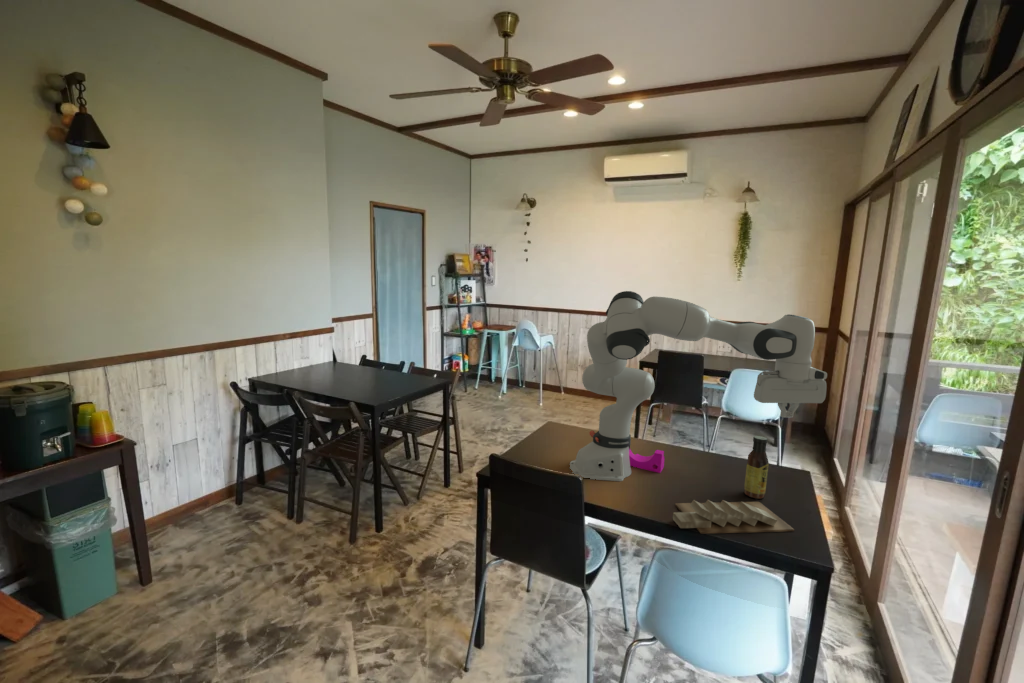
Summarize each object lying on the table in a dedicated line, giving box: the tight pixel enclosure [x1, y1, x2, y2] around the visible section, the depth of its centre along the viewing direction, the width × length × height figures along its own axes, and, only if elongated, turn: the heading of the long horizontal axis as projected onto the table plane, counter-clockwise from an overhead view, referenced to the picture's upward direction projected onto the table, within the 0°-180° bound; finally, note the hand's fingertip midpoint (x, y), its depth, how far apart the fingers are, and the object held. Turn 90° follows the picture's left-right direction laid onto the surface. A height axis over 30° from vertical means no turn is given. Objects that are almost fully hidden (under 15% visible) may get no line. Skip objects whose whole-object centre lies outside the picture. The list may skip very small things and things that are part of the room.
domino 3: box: [704, 499, 741, 526], centre depth 132 cm, size 2×5×9 cm
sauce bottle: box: [743, 435, 770, 500], centre depth 150 cm, size 7×6×20 cm
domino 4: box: [719, 499, 758, 526], centre depth 133 cm, size 2×5×9 cm
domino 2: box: [690, 499, 727, 527], centre depth 132 cm, size 2×5×9 cm
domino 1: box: [672, 511, 711, 529], centre depth 132 cm, size 2×5×9 cm
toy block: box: [629, 448, 666, 474], centre depth 172 cm, size 15×6×8 cm, turn 61°
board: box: [674, 501, 795, 535], centre depth 137 cm, size 28×16×1 cm, turn 96°
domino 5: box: [738, 501, 777, 526], centre depth 133 cm, size 2×5×9 cm
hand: (786, 417), depth 134 cm, fingers closed
